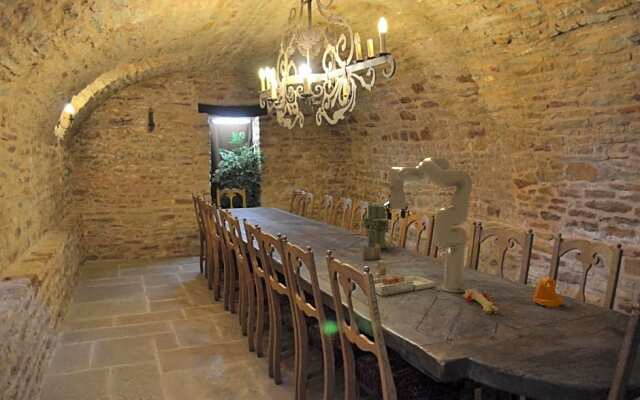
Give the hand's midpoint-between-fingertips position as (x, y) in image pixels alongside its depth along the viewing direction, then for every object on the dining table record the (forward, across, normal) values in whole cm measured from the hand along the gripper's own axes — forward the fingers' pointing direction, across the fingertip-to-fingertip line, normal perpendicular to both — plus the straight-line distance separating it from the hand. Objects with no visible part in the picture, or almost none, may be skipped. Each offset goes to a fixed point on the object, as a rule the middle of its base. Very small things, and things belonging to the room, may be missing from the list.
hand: (396, 218), depth 288 cm
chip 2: (+27, -21, -28) cm, 44 cm away
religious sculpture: (+31, +30, +60) cm, 73 cm away
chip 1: (+27, -26, -28) cm, 47 cm away
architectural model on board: (+31, +6, +32) cm, 45 cm away
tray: (+30, -9, -28) cm, 42 cm away
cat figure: (+31, -6, -68) cm, 75 cm away
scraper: (+30, -20, -14) cm, 39 cm away
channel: (+30, -26, -28) cm, 49 cm away
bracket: (+30, +23, -83) cm, 91 cm away
